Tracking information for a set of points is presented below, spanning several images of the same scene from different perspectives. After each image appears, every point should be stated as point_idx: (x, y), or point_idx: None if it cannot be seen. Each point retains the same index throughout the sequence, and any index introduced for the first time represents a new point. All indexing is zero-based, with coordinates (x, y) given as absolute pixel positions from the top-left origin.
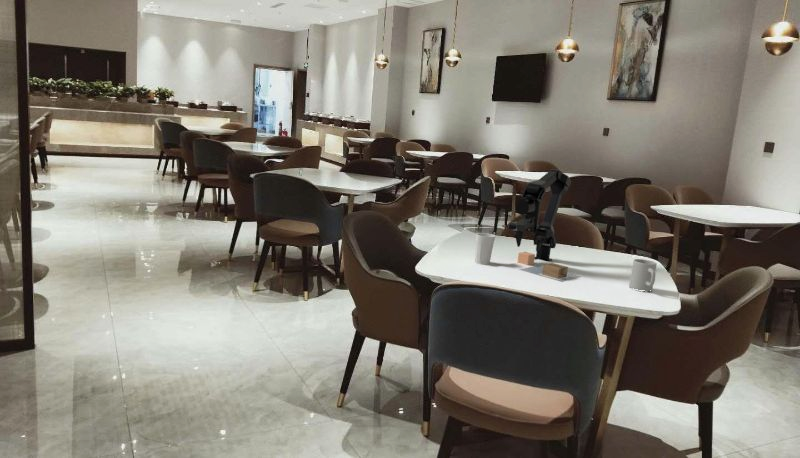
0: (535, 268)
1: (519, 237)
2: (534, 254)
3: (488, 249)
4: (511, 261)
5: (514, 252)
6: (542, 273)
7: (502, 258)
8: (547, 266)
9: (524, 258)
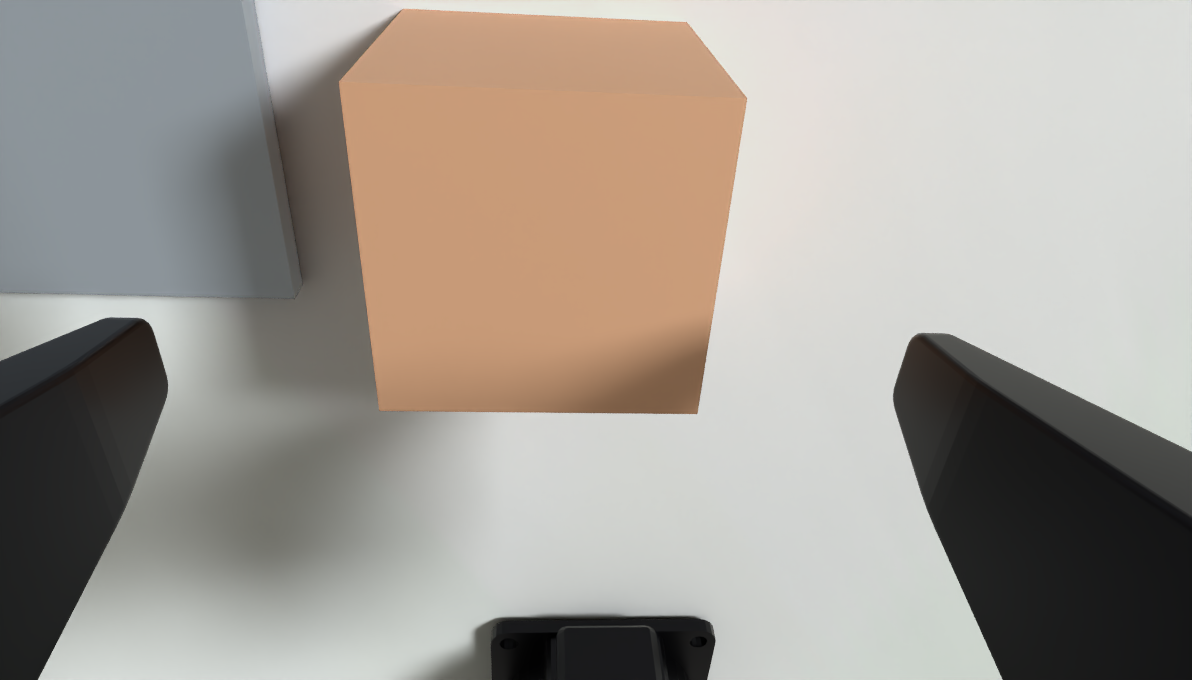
0: None
1: (1132, 651)
2: (379, 386)
3: None
4: (880, 116)
5: None
6: None
7: (1123, 168)
8: None
9: (499, 57)
